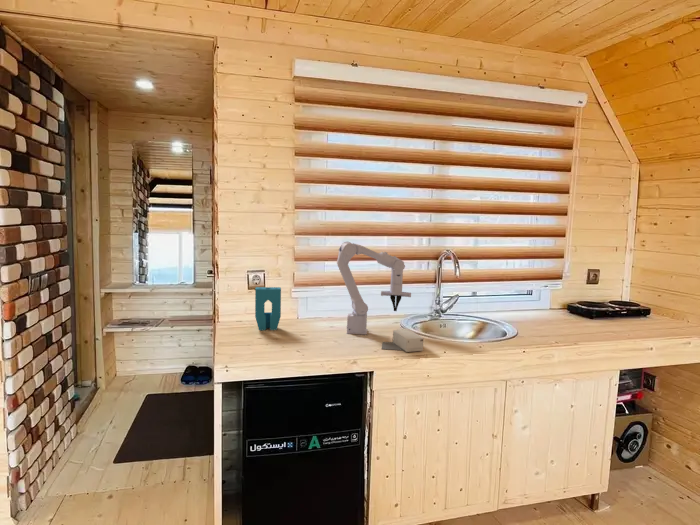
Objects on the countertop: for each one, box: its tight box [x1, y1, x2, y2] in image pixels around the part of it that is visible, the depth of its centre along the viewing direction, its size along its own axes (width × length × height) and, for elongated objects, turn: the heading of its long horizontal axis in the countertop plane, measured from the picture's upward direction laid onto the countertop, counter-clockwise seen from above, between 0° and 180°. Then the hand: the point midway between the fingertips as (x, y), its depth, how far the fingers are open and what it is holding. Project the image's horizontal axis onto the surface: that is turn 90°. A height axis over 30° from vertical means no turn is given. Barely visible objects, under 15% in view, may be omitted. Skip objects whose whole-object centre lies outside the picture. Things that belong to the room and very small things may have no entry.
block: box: [254, 286, 282, 331], centre depth 222 cm, size 12×5×20 cm, turn 100°
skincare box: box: [392, 328, 424, 353], centre depth 201 cm, size 8×6×15 cm
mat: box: [381, 341, 406, 352], centre depth 201 cm, size 14×10×1 cm
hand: (395, 310), depth 224 cm, fingers closed
